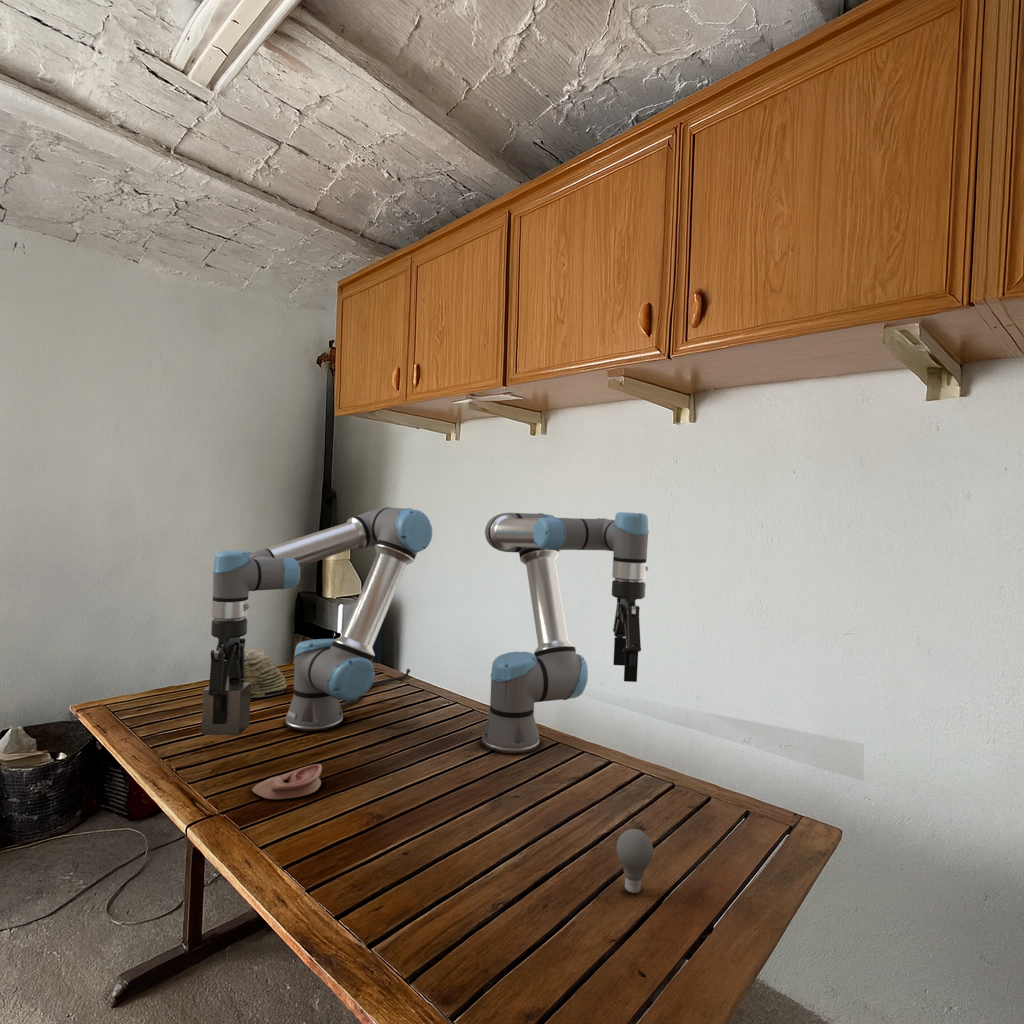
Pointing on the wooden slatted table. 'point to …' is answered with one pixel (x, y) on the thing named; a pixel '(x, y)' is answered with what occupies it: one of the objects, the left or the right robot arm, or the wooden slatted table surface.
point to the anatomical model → (291, 783)
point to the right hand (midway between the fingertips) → (624, 672)
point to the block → (228, 710)
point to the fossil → (262, 674)
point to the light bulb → (634, 857)
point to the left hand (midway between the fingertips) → (226, 717)
